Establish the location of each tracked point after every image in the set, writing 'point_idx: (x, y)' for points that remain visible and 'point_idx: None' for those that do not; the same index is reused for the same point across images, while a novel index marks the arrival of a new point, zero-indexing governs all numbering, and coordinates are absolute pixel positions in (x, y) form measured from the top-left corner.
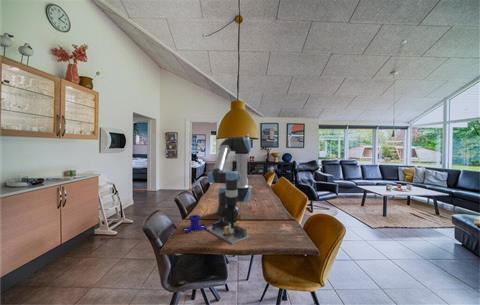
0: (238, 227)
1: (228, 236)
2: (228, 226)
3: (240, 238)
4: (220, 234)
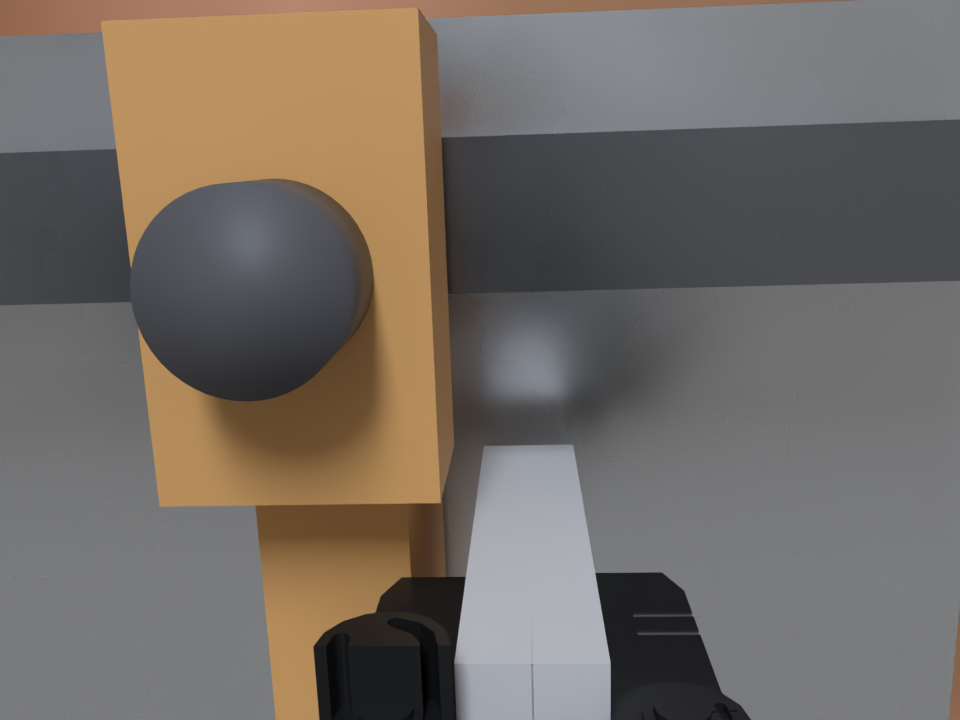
0: (629, 236)
1: None
2: None
3: (953, 421)
4: None
